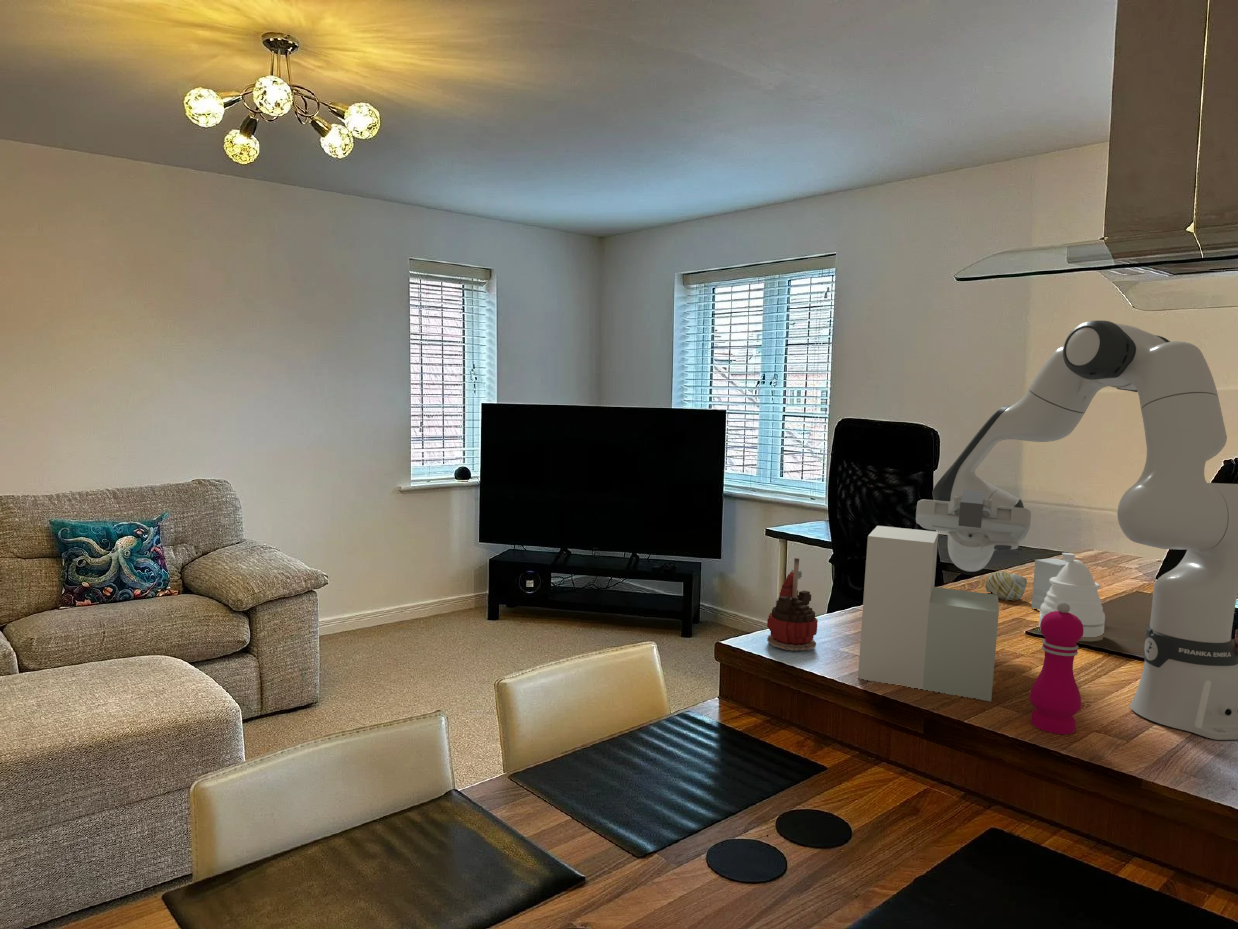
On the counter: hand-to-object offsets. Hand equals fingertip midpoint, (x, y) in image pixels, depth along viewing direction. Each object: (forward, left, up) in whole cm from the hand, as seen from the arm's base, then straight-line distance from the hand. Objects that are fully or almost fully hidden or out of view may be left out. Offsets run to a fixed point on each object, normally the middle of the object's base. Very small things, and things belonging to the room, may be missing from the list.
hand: (972, 501), depth 157 cm
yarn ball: (-33, -64, -32) cm, 79 cm away
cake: (+30, -9, -32) cm, 45 cm away
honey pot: (-35, -32, -32) cm, 57 cm away
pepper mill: (-6, +26, -32) cm, 42 cm away
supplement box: (-40, -52, -32) cm, 73 cm away
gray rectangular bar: (+2, +6, -2) cm, 7 cm away
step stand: (+8, +6, -32) cm, 34 cm away
